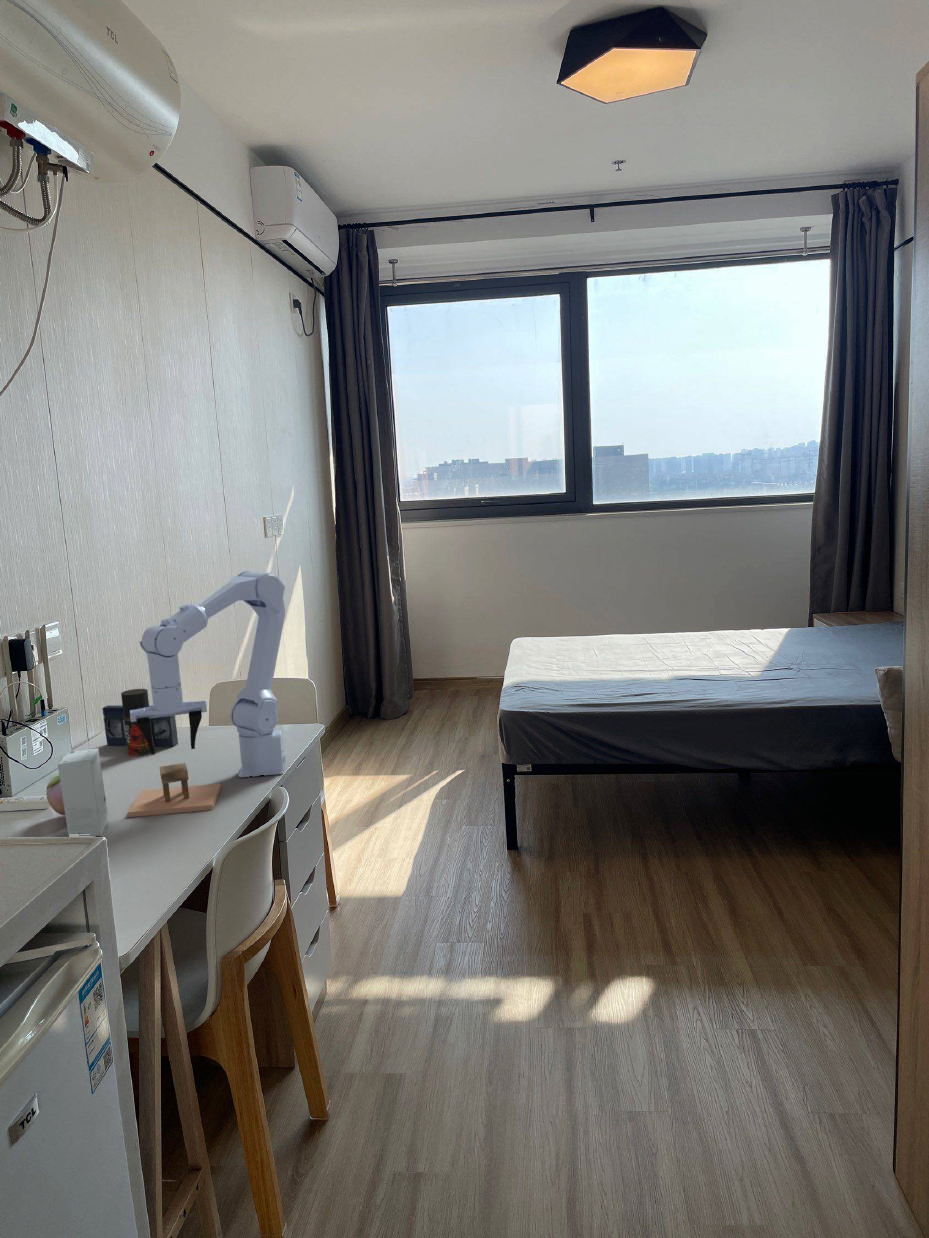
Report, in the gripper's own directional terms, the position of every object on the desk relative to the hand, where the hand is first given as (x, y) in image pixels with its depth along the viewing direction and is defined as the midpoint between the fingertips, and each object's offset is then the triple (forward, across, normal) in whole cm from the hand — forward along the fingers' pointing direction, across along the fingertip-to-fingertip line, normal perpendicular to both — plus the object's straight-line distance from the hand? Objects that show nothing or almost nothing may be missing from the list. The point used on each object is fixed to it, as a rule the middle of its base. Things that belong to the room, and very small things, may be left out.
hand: (173, 750), depth 176 cm
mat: (+10, 0, +2) cm, 10 cm away
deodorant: (+11, +8, -38) cm, 40 cm away
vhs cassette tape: (+11, +7, -44) cm, 46 cm away
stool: (+9, 0, +1) cm, 9 cm away
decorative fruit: (+10, +20, +1) cm, 22 cm away
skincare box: (+10, +16, +10) cm, 22 cm away
